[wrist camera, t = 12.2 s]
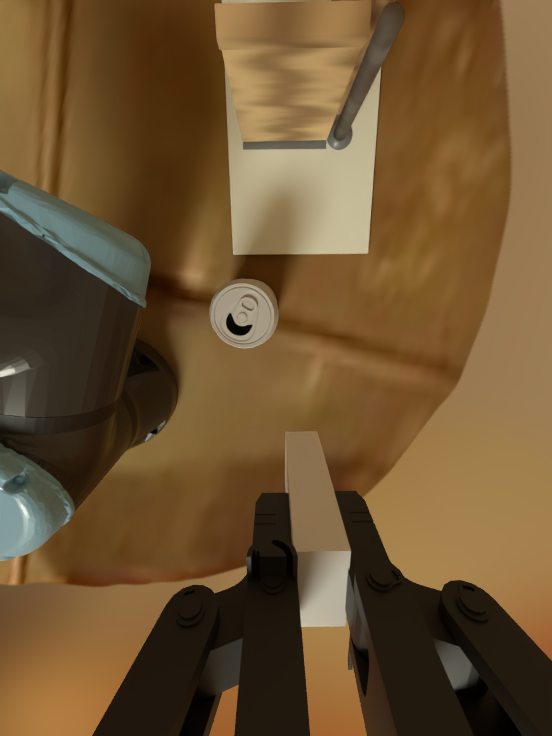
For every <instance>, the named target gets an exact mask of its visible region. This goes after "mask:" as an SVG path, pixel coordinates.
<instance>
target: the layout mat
mask: <svg viewBox="0 0 552 736" xmlns="http://www.w3.org/2000/svg"><path fill="white" fill-rule="evenodd" d="M313 1H340V0H222V3H265V2H313ZM380 77H381V68H380V70H379V72H378V74H377V76H376V78H375V80H374V82H373V84H372V86H371V88H370V90H369V92H368V94H367V96H366V98H365V99H364V101H363V103H362V105H361V107H360V109H359V111H358V113H357V115H356V117H355V119H354V121H353V123H352V125H351V127H350V129H349V131H348V133H347V135H346V137H345V139H344V140H342V141H338V140H336V139H335V138H334V134H333V133H334V129H335V127H336V124H337V122H338V119H339V117H340V115H336V117H335V120H334V122H333V125H332V128H331V130H330V133H329V136H328V138H327V140H309V141H261V142H243V141H242V137H241V132H240V128H239V124H238V119H237V115H236V111H235V106H234V102H233V97H232V93H231V89H230V84H229V80H228V76H227V71H226V67H225V84H226V107H227V129H228V151H229V173H230V196H231V218H232V240H233V255H277V254H367V253H368V246H369V232H370V218H371V204H372V190H373V176H374V161H375V147H376V133H377V119H378V105H379V91H380Z"/></svg>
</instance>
